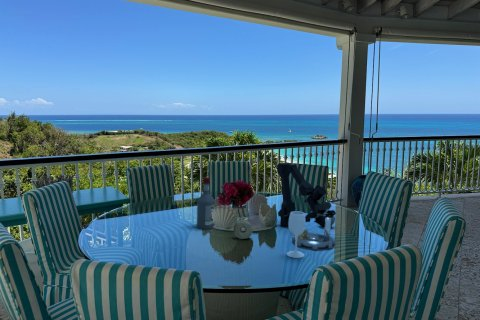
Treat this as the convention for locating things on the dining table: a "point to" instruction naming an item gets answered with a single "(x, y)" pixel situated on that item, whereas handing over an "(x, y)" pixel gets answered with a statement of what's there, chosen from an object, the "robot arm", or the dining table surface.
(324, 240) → the sprocket
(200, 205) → the liquor
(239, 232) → the stone disc
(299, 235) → the link block
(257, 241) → the dining table surface
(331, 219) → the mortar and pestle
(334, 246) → the base mat
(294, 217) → the wineglass
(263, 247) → the dining table surface
